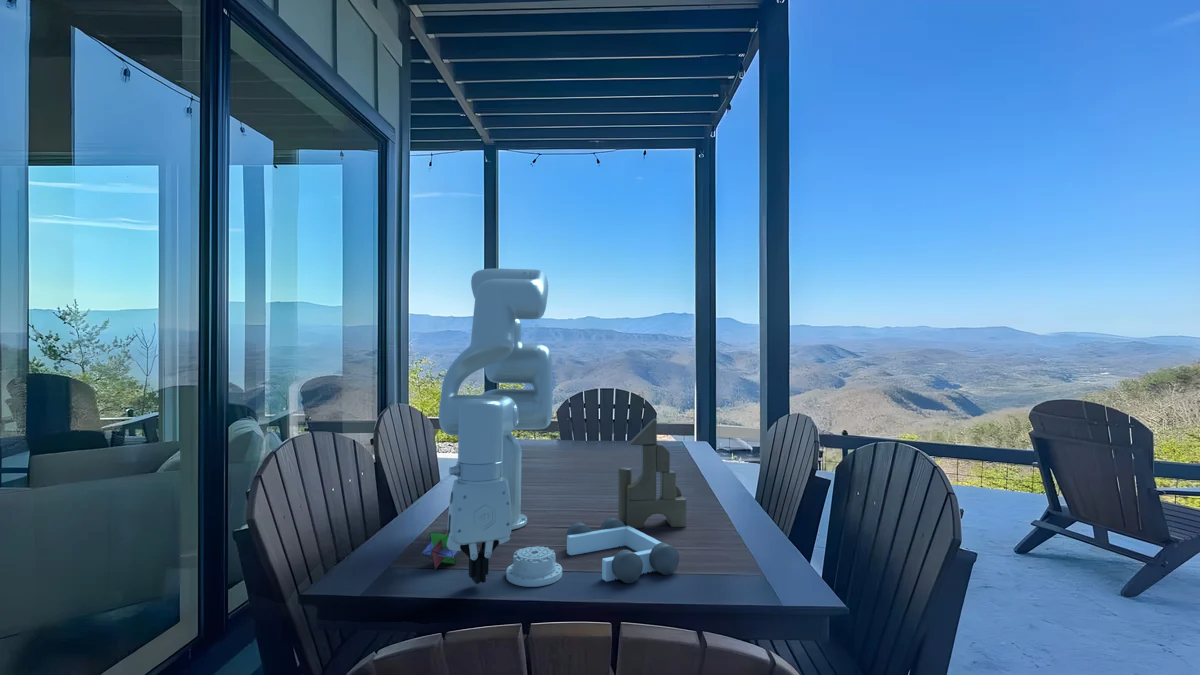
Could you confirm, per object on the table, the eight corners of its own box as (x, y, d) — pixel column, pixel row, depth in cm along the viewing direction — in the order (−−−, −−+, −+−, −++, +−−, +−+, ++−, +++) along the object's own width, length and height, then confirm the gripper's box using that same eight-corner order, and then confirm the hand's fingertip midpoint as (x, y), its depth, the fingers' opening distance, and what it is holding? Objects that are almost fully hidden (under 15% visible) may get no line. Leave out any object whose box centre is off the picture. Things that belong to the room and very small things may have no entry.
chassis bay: (561, 549, 113) (561, 524, 113) (622, 538, 120) (622, 515, 120) (613, 586, 94) (613, 557, 94) (681, 571, 101) (681, 544, 101)
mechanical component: (548, 592, 92) (570, 570, 102) (548, 565, 93) (570, 546, 102) (495, 584, 96) (522, 564, 105) (496, 558, 96) (522, 540, 105)
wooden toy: (679, 518, 135) (679, 416, 136) (686, 527, 128) (686, 419, 129) (617, 520, 134) (618, 416, 135) (620, 528, 127) (621, 419, 128)
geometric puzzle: (442, 565, 97) (458, 521, 102) (409, 561, 99) (426, 518, 104) (459, 578, 103) (473, 536, 108) (427, 573, 105) (442, 532, 110)
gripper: (441, 479, 87) (438, 597, 87) (529, 471, 95) (527, 580, 94) (430, 471, 94) (428, 580, 93) (514, 464, 101) (512, 565, 100)
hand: (478, 580), depth 93 cm, fingers closed
